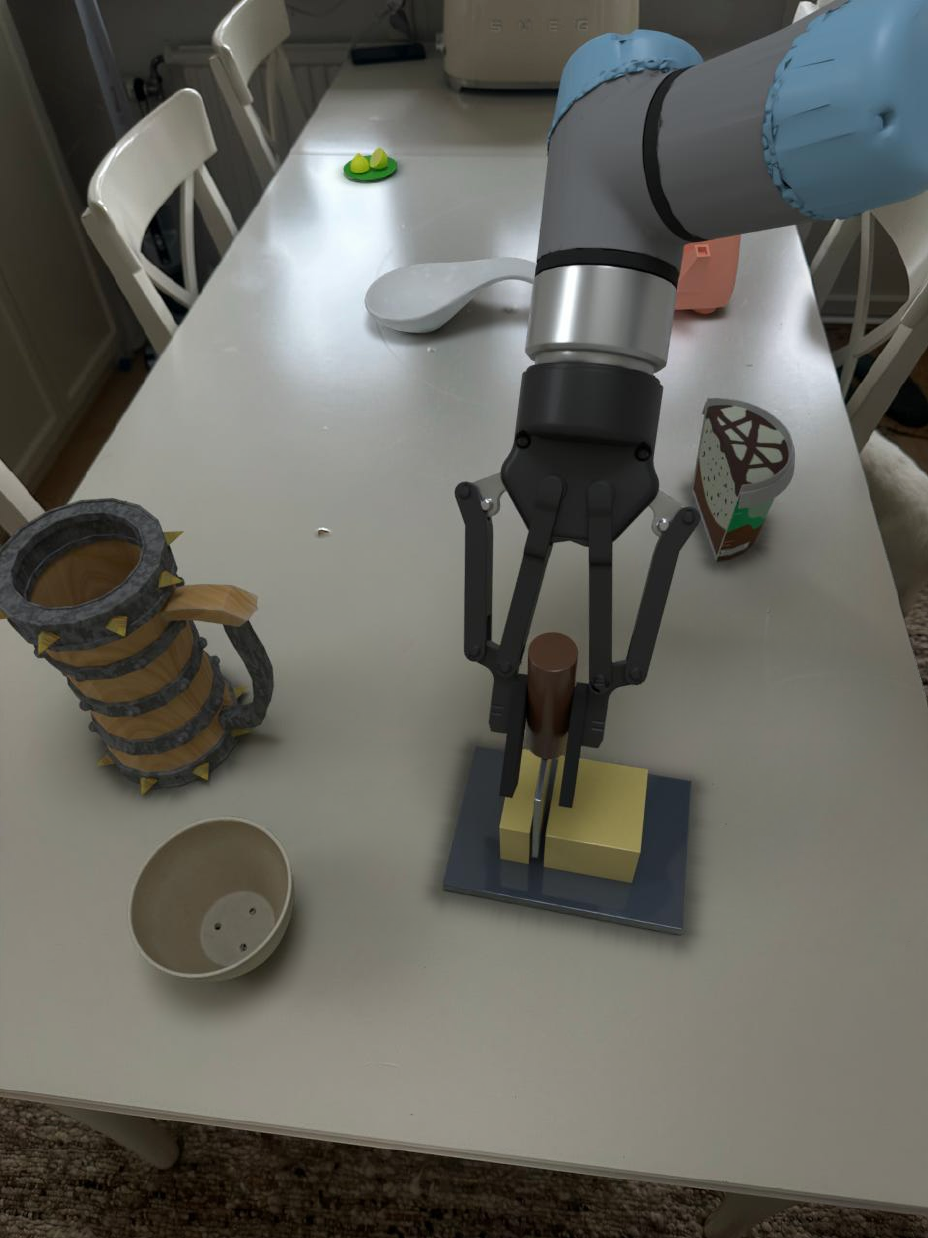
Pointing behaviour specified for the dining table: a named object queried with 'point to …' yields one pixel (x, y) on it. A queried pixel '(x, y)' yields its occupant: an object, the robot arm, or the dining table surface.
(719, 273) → the teapot
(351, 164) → the lemon
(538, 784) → the knife
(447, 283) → the spoon rest
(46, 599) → the mug
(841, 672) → the dining table surface
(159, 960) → the flower pot
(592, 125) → the robot arm
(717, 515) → the food container
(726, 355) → the dining table surface
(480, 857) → the butter dish
